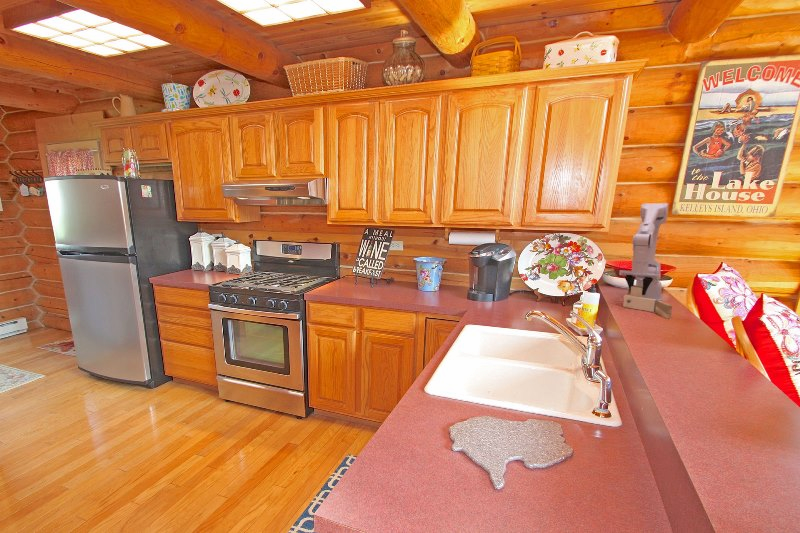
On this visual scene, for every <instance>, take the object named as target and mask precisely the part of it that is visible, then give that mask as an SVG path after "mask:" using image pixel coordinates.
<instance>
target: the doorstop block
mask: <svg viewBox="0 0 800 533" xmlns="http://www.w3.org/2000/svg"><path fill="white" fill-rule="evenodd" d="M642 290H643V286H636V284H634V286H631V293H630V296H635V297H641V298H643V297H644V295H642Z"/></svg>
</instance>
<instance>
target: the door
mask: <svg viewBox="0 0 800 533" xmlns="http://www.w3.org/2000/svg"><path fill="white" fill-rule="evenodd" d="M656 301H659V300H654V299H648V298H641V297H635V296H629V295H628V294H624V296H623V304H622V305H623V306H622V307H623V308H629V309H634V310H639V311H646V312H650V313H655V308H656Z"/></svg>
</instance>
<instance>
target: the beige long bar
mask: <svg viewBox="0 0 800 533" xmlns="http://www.w3.org/2000/svg"><path fill="white" fill-rule="evenodd" d="M627 295H629V296H630V292H629V288H628V289H627ZM672 312H673V305H671V304H669V303H666V302H663V301H662V300H661V301H656V308H655V312H654V314H656V313H657V314H656V315H658V314H659V316H660V315H661V316H660V317H663V318H665V319H672Z"/></svg>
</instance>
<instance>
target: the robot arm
mask: <svg viewBox="0 0 800 533" xmlns="http://www.w3.org/2000/svg"><path fill="white" fill-rule="evenodd" d="M668 213H669V203H668V202H664V203H663V202H662V203H657V202H656V203H655V202H654V203H645V202H644V203H642V204H641V206H640V213H639V214H640V219H641V223H640V224H639V226H638V229H637V232H636V234H633V235H632V236H633V237H632V252H633V253H632V263H631V270H624V269H620V270H619V272H618V273H619V274H618V275H619V276H625V277H624V279H625V281H626V284H627V286H628V289H629V292H630V293H631V286H634V285H636V286H643V290H642V295H644V297H643V298H648V299H654V300H659V301H662V299H661V298H662V289H663V285H662V283H661V281H660V280H661V276H662V274H661V267H662V265H661V263H660V262H659V261H658V260H656V258H655V256H656V249H657V245H658V244H657V243H658V239H659V231H660V228H661V225H663V224H665V223H666V221H667V219H668ZM635 282H636V283H635Z"/></svg>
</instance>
